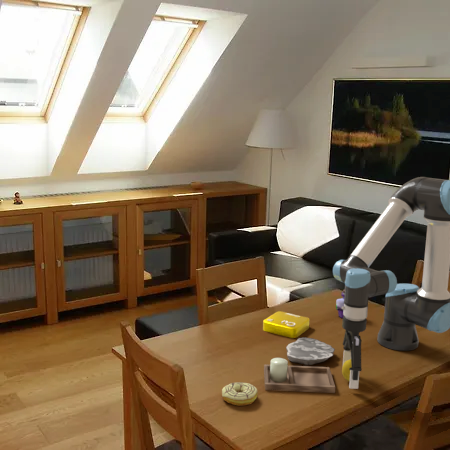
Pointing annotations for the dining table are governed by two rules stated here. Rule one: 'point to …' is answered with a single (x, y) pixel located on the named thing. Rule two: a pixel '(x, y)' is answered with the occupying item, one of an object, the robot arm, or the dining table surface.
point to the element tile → (286, 324)
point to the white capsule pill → (278, 370)
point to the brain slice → (309, 351)
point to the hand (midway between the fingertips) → (349, 378)
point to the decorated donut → (239, 393)
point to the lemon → (346, 370)
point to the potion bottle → (340, 305)
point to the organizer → (302, 379)
